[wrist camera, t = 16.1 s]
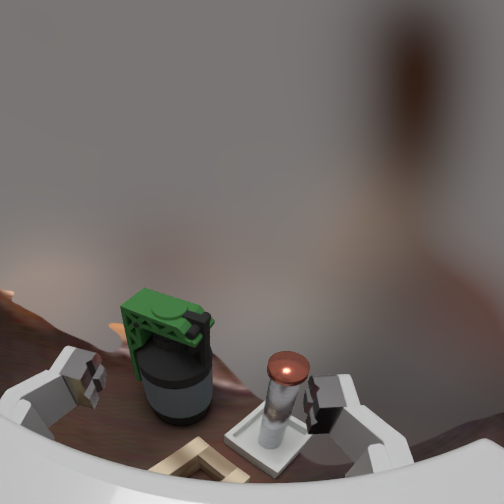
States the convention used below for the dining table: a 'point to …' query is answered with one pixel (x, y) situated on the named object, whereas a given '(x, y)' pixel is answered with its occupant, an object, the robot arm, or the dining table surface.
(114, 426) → the dining table surface
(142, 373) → the grenade
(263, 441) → the pin
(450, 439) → the dining table surface
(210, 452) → the block
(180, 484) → the robot arm
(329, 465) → the dining table surface
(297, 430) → the tray
